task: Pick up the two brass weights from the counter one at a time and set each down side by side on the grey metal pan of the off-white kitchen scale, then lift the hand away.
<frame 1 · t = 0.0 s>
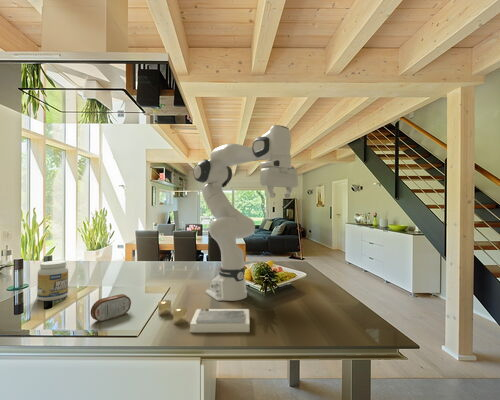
hand: (280, 197, 117), 48 cm above the worktop, tool pointing down, fingers open, 8 cm apart
supplement tub: (52, 297, 137), on the worktop
scale: (221, 323, 107), on the worktop
weight 2: (164, 314, 117), on the worktop
tin: (111, 318, 113), on the worktop
weight 1: (180, 322, 109), on the worktop
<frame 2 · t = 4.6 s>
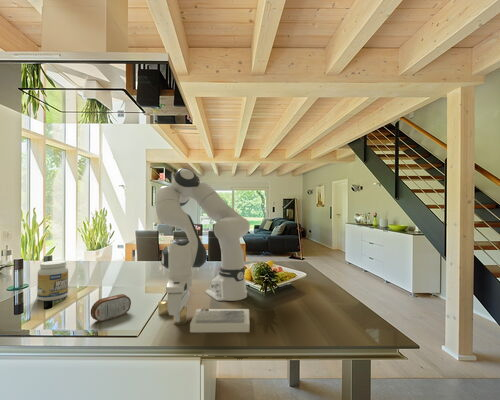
hand: (179, 317, 109), 2 cm above the worktop, tool pointing down, fingers closed on weight 1, 5 cm apart
weight 1: (180, 322, 109), on the worktop, touching gripper
everything else where it was.
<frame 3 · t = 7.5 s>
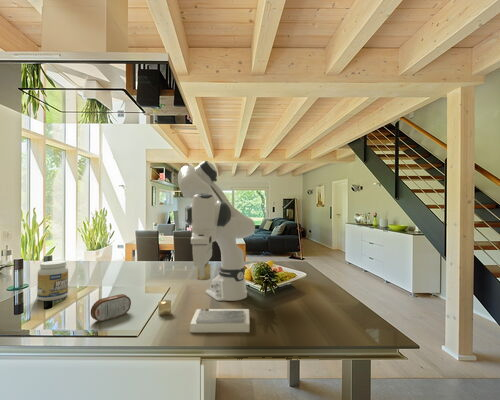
hand: (203, 273, 106), 19 cm above the worktop, tool pointing down, fingers closed on weight 1, 5 cm apart
weight 1: (203, 278, 106), point 17 cm above the worktop, touching gripper
everything else where it was.
when the fingers open (7 cm above the worktop, at t = 10.5 s): weight 1 stays where it is, resting on scale.
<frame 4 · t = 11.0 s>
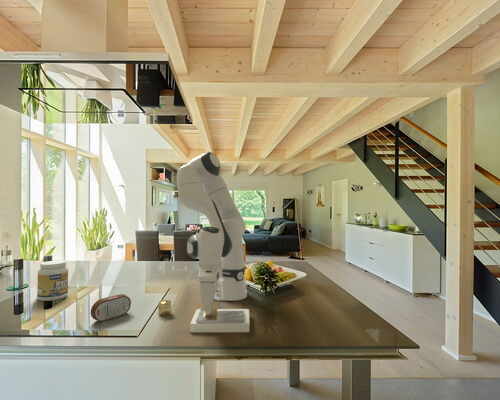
hand: (210, 308, 105), 7 cm above the worktop, tool pointing down, fingers open, 8 cm apart
weight 1: (210, 315, 105), point 4 cm above the worktop, touching scale
everything else where it was.
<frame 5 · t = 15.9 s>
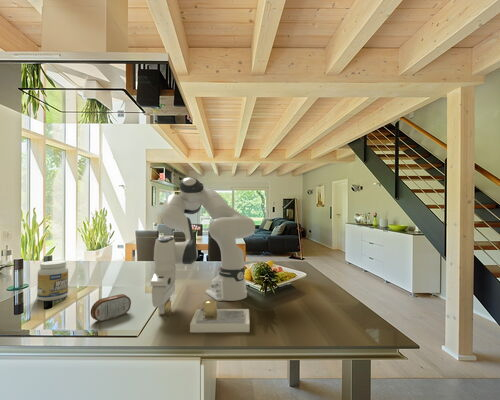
hand: (164, 310, 117), 2 cm above the worktop, tool pointing down, fingers closed on weight 2, 5 cm apart
weight 2: (164, 314, 117), on the worktop, touching gripper
everything else where it was.
when the fingers open (7 cm above the worktop, at t = 23.0 s): weight 2 stays where it is, resting on scale.
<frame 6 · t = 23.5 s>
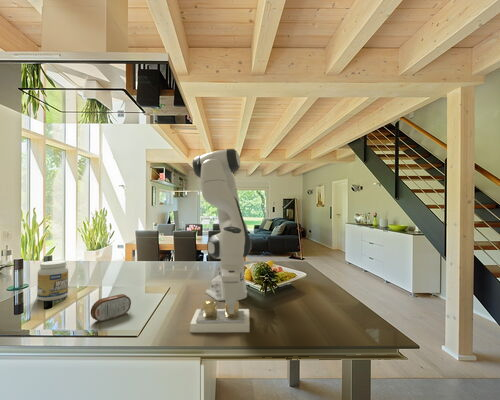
hand: (232, 308, 105), 7 cm above the worktop, tool pointing down, fingers open, 8 cm apart
weight 2: (231, 315, 105), point 4 cm above the worktop, touching scale
everything else where it was.
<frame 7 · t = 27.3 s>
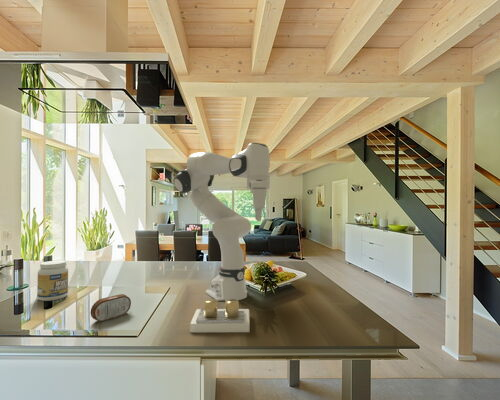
hand: (258, 220, 110), 39 cm above the worktop, tool pointing down, fingers open, 8 cm apart
nothing on the worktop moved.
at the end: weight 1 inside the target area on the scale (4.0 cm from its centre), point 4.2 cm above the scale's base; weight 2 inside the target area on the scale (4.0 cm from its centre), point 4.1 cm above the scale's base; weight 2 tilted 2° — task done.
